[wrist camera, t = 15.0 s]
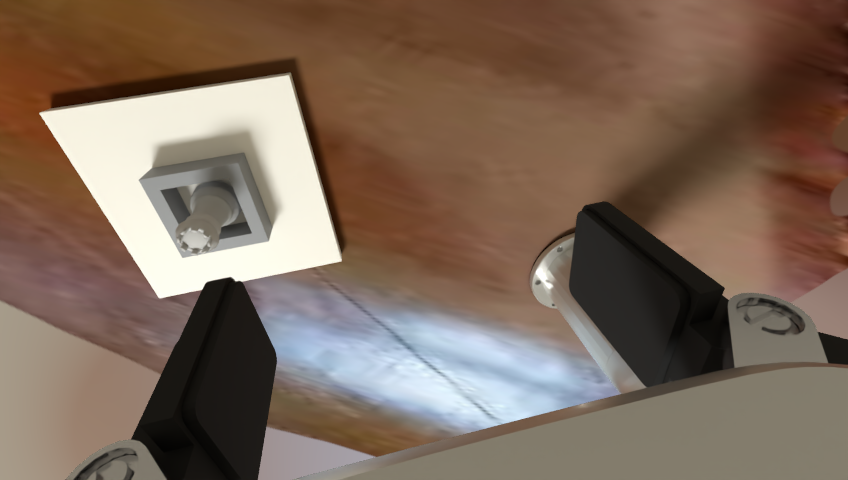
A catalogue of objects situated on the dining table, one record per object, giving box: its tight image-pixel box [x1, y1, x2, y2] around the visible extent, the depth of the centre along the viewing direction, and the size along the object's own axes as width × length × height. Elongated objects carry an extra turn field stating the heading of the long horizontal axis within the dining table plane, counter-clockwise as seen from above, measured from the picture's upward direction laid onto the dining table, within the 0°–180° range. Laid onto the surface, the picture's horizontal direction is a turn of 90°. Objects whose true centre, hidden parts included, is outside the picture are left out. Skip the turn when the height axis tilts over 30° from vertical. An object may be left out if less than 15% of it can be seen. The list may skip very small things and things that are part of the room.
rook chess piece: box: [175, 181, 242, 256], centre depth 34 cm, size 4×4×8 cm
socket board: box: [40, 72, 342, 298], centre depth 37 cm, size 20×20×4 cm
